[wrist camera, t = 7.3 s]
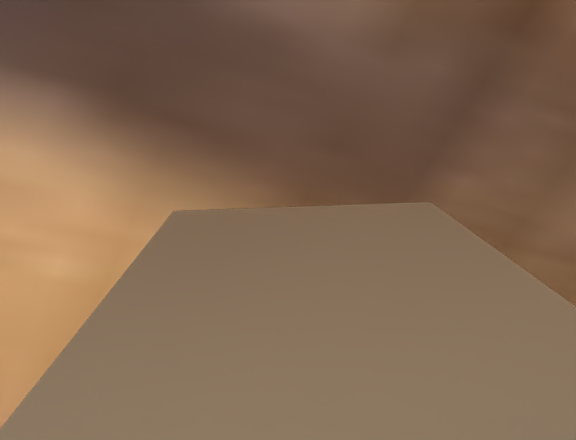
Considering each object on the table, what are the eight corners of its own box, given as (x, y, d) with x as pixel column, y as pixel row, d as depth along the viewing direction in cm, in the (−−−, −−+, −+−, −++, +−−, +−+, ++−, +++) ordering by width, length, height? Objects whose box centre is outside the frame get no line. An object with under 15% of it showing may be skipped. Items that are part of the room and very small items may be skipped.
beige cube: (173, 210, 11) (-133, 595, 3) (430, 202, 11) (884, 529, 3) (200, 410, 14) (88, 918, 5) (408, 399, 14) (614, 870, 6)
